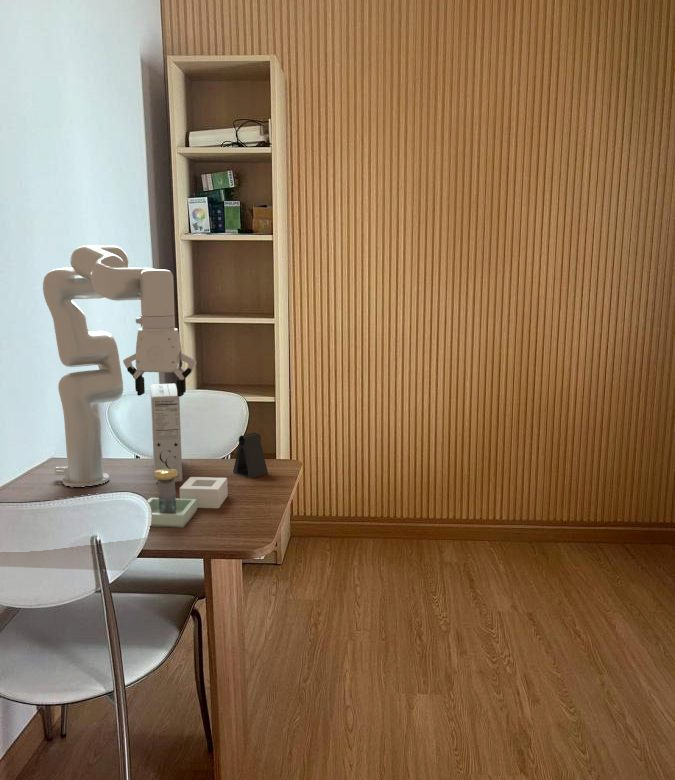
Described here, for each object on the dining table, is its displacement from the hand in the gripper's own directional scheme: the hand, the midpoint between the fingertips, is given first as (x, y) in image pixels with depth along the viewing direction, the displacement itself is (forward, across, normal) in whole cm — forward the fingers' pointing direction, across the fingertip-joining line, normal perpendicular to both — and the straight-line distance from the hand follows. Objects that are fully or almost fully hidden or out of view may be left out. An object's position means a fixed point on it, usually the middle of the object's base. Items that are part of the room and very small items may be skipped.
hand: (160, 395), depth 172 cm
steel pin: (+30, +1, 0) cm, 30 cm away
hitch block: (+31, +6, +13) cm, 34 cm away
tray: (+31, 0, 0) cm, 31 cm away
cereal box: (+31, -12, +38) cm, 51 cm away
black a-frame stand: (+31, +14, +39) cm, 51 cm away
